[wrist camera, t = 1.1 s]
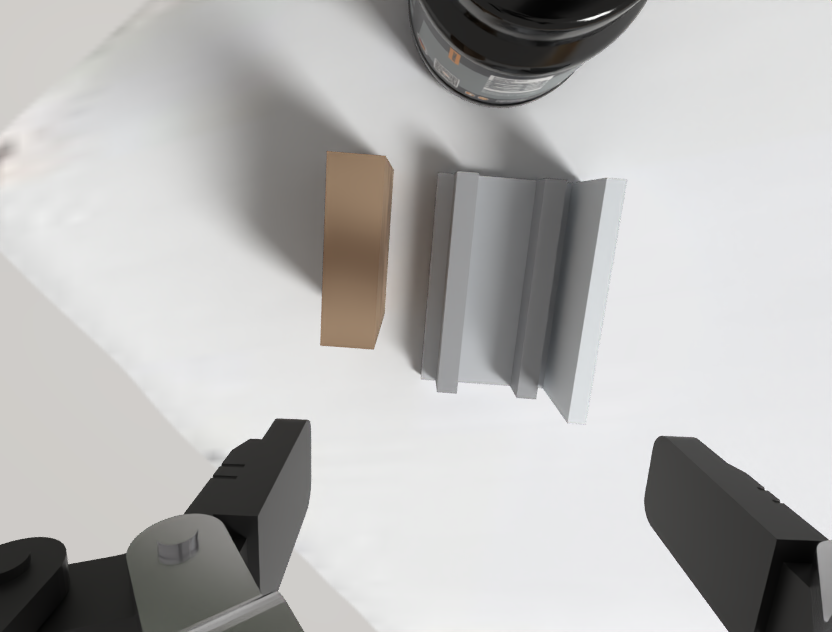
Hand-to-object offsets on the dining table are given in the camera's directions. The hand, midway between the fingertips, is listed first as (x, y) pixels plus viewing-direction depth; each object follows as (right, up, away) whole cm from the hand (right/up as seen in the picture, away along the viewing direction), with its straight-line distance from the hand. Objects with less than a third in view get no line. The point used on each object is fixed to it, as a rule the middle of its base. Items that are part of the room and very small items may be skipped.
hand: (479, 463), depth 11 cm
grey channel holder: (+3, +5, +19) cm, 20 cm away
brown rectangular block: (-5, +8, +19) cm, 21 cm away
